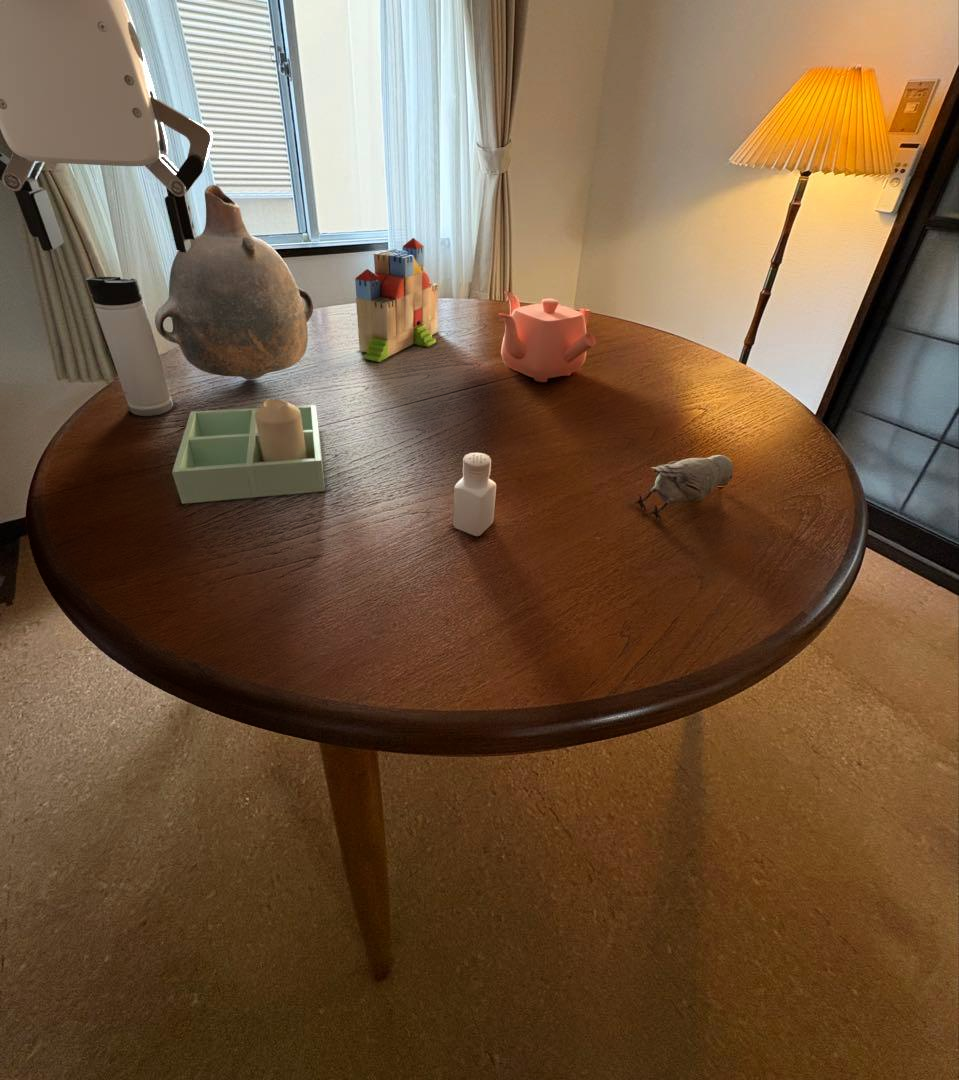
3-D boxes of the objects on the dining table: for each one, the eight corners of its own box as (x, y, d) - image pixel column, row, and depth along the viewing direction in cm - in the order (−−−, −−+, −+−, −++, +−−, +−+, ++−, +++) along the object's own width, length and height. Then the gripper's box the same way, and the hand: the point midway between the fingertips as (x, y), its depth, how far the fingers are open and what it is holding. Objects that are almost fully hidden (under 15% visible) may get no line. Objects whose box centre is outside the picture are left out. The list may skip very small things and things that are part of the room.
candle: (317, 468, 77) (308, 399, 71) (290, 486, 73) (278, 415, 67) (285, 458, 79) (273, 390, 73) (257, 475, 75) (242, 405, 69)
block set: (393, 366, 112) (389, 260, 100) (335, 352, 116) (325, 249, 104) (457, 331, 132) (460, 240, 121) (406, 320, 137) (404, 231, 125)
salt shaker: (467, 513, 72) (471, 447, 66) (494, 523, 70) (500, 457, 65) (450, 528, 69) (453, 460, 63) (478, 539, 68) (483, 471, 62)
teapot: (492, 383, 108) (498, 308, 99) (499, 352, 122) (505, 284, 114) (587, 393, 107) (601, 318, 98) (582, 360, 121) (594, 292, 113)
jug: (256, 416, 90) (214, 201, 72) (153, 390, 96) (91, 184, 78) (340, 369, 109) (324, 188, 91) (250, 349, 115) (218, 175, 96)
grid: (181, 504, 70) (171, 472, 67) (198, 440, 83) (190, 411, 80) (325, 491, 74) (321, 460, 71) (319, 432, 87) (315, 404, 85)
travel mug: (120, 414, 88) (71, 277, 76) (146, 398, 93) (105, 268, 81) (156, 419, 88) (114, 282, 75) (181, 403, 93) (145, 272, 81)
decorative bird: (736, 498, 79) (755, 451, 75) (656, 529, 72) (672, 479, 67) (706, 480, 83) (722, 434, 78) (626, 508, 75) (639, 459, 71)
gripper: (188, -20, 41) (235, 241, 51) (-99, -54, 37) (15, 238, 47) (172, -40, 35) (229, 259, 46) (-170, -83, 31) (-22, 257, 41)
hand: (121, 248), depth 46 cm, fingers open, 9 cm apart
